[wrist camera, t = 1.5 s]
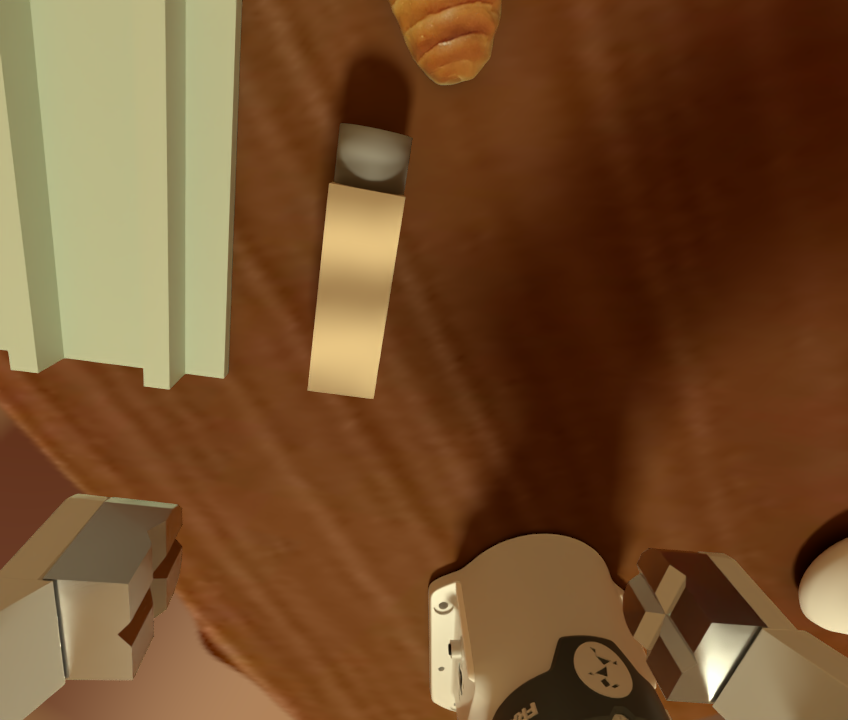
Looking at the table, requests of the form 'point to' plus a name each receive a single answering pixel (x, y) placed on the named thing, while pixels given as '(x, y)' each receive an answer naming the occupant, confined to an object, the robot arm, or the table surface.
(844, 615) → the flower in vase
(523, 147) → the table surface
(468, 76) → the pastry
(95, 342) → the grooved moulding strip
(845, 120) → the table surface
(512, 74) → the table surface
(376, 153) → the grey-capped wooden block
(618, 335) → the table surface
